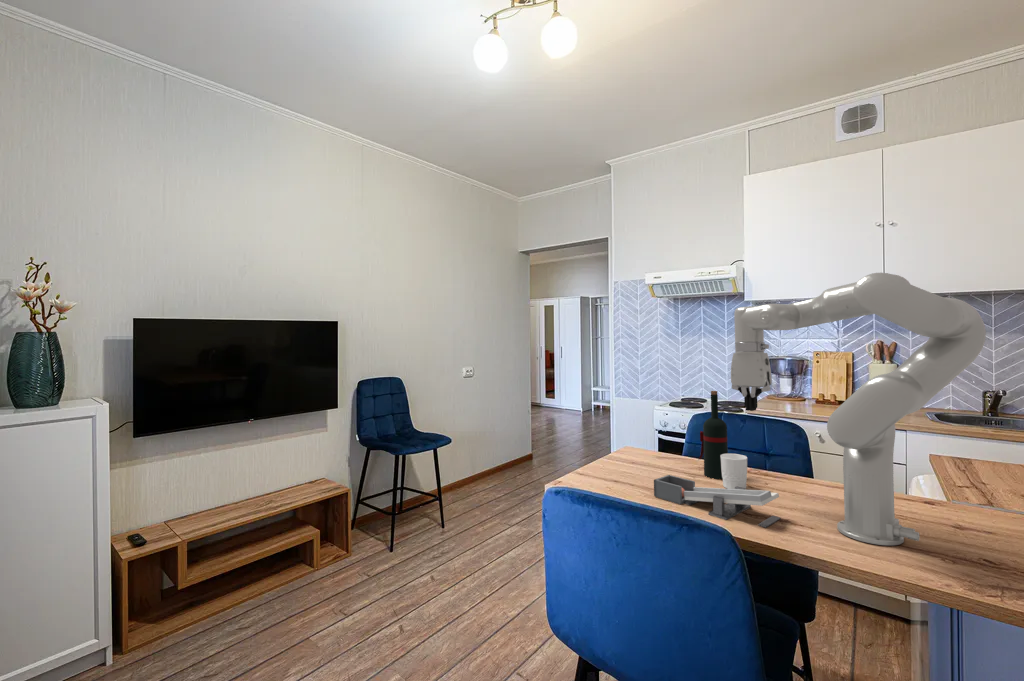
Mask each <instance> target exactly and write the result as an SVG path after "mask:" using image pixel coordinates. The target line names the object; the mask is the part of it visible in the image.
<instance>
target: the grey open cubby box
mask: <svg viewBox="0 0 1024 681" xmlns="http://www.w3.org/2000/svg"><path fill="white" fill-rule="evenodd" d="M694 487H696V481H695V480H691V479H688V478H684V477H683V478H682V477H679V476H676V475H671V474H667V475H664V476H661V477H657V478H656V479H653V497H654V496H656V497H655V498H657V497H658V498H657V499H660V498H662V499H661V500H664V501H667V500H668V502H670V501H671V502H670V503H673V502H674V503H673V504H678V505H681V506H682V505H684V502H687V501H689V500H685V497H683V498H682V488H683V489H684V490H685V491H694V489H693V488H694Z"/></svg>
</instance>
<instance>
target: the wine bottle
mask: <svg viewBox="0 0 1024 681" xmlns="http://www.w3.org/2000/svg"><path fill="white" fill-rule="evenodd" d="M718 397H719V395H718V390H710V414H711V416H710V417H709V418H707V419H706V420H705V421H704V423H703V424H702V428H703V429H702V430H703V431H701V430H700V432H699V440H700V441H699V442H701V446H700V456H699V458H698V460H700V461H702V457H703V475H704V477H706V476H707V477H706V478H708V477H710V478H709V479H712V478H714V479H713V480H723V478H722V471H721V457H720V455H721V454H729V452H728V451H729V450H728V449H729V448H728V426H727V423H726V422H725V421H724V420H723V419H722V418H719V401H718V400H719V398H718Z"/></svg>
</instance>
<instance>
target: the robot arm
mask: <svg viewBox="0 0 1024 681" xmlns="http://www.w3.org/2000/svg"><path fill="white" fill-rule="evenodd" d="M733 315H734V319H733V320H734V351H735V352H734V353H732V358H731V364H730V365H731V366H730V383H731V389H732V390H735V391H738V392H739V393H740V394H741V395H742V397H744V399H743V400H744V401H743V402H744V404H743V405H744V407H745V411H749V412H753V411H754V412H755V411H756V410H757V408H758V397H759V396H760V395H761V394H762V393H764V392H770V391H771V390H772V389H771V385H772V381H773V380H772V379H773V378H772V370H771V363H770V359H769V354H768V352H765V351H766V350H768V349H769V348H770V347H769V346H770V345H769V344H768V343H765V341H764V340H765V339H764V337H765V336H764V335H765V334H764V331H790V330H791V331H792V330H797V329H803V328H809V327H813V326H818V325H822V324H823V325H824V324H827V323H828V324H829V323H834V322H839V321H844V320H850V319H854V318H859V317H864V316H865V317H866V316H870V315H871V316H872V315H876V316H877V317H880V318H882V319H884V320H887V321H889V322H891V323H893V324H895V325H897V326H899V327H901V328H903V329H905V330H908V331H910V332H912V333H914V334H916V335H920V336H922V337H926V338H928V340H927V341H926V342H925V343H924V344H923V345H921V346H920V347H918V349H916V350H915V351H914V352H913V353H912V354H911V355H910V356H909V357H908V358H907V359H905V361H904V362H902V363H901V364H900V365H899V366H898V367H896V368H895V369H893V371H892V370H891V372H888V373H884V374H878V375H876V376H873V377H872V378H870V379H869V380H867V381H865V382H864V383H863V384H862V385H861V386H860V387H859V388H857V390H856V391H854V392H853V393H852V394H851V395H850V396H849V397H847V399H845V401H844V402H843V403H841V404H840V405H839V406H838V407H837V408H836V409H835V410H834V411H833V412H832V413H831V414H830V416H828V417H829V418H828V420H827V424H826V428H827V429H826V430H827V433H828V435H829V437H830V438H831V440H832V441H833V442H834V443H835V444H836V445H838V446H840V447H842V448H843V452H842V453H843V456H842V463H843V464H842V465H843V466H842V468H843V469H842V472H843V474H842V475H843V502H844V504H843V506H844V507H843V508H844V520H843V519H842V520H840V521H838V522H837V524H836V527H837V530H838V532H840V533H841V534H842V535H844V536H846V537H848V538H851V539H853V540H855V541H858V542H862V543H868V544H873V545H877V546H878V545H879V546H899V545H901V544H903V543H904V542H905V539H909V540H911V541H916V542H919V541H920V538H921V537H920V532H919V531H916V529H915V528H911V527H906V526H903V525H902V524H900V519H899V518H895V517H896V516H895V515H896V514H895V491H894V489H895V488H894V486H895V484H894V451H895V450H894V449H895V440H896V423H898V422H899V421H900V420H901V419H903V418H904V417H905V416H907V415H911V414H912V413H915V412H917V411H919V410H921V409H922V408H924V407H925V405H926V404H927V403H928V402H929V401H931V400H932V399H933V398H934V397H935V396H936V395H937V394H938V393H939V392H941V391H942V390H943V389H944V388H946V387H947V386H948V385H949V384H951V382H952V381H953V380H954V379H956V378H957V377H958V376H959V375H960V374H961V373H962V372H963V371H965V370H966V369H967V368H968V367H969V366H970V365H971V364H972V363H974V361H975V360H976V359H977V358H978V356H979V355H980V353H981V352H982V350H983V348H984V345H985V342H986V338H987V335H986V334H987V331H986V329H987V328H986V326H985V322H984V320H983V318H982V316H981V315H980V313H979V312H978V310H977V309H976V308H975V307H974V306H973V305H971V304H969V303H968V302H966V301H964V300H962V299H959V298H955V297H945V296H941V295H938V294H935V293H933V292H930V291H928V290H926V289H923V288H920V287H918V286H915V285H913V284H911V283H910V282H909V280H907V278H905V277H903V276H901V275H898V274H895V273H894V274H893V273H889V272H888V273H887V272H874V273H869V274H867V275H865V276H863V277H861V278H860V279H859V280H858V281H856V282H855V281H854V282H852V283H847V284H842V285H839V286H834V287H829V288H826V289H825V290H823V291H822V293H821V294H819V295H818V296H816V297H814V298H810V299H806V300H802V301H796V302H793V303H786V304H785V303H767V304H766V303H764V304H761V305H756V306H753V305H751V306H740V307H737V308H736V309H734V314H733Z"/></svg>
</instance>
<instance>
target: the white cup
mask: <svg viewBox="0 0 1024 681" xmlns="http://www.w3.org/2000/svg"><path fill="white" fill-rule="evenodd" d="M720 457H721V471H722V478H723V479H722V486H723V488H724V489H735V487H736V486H738V487H742V488H745V490H747V479H748V457H747V455H743V454H739V453H728V454H721V455H720Z"/></svg>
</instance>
